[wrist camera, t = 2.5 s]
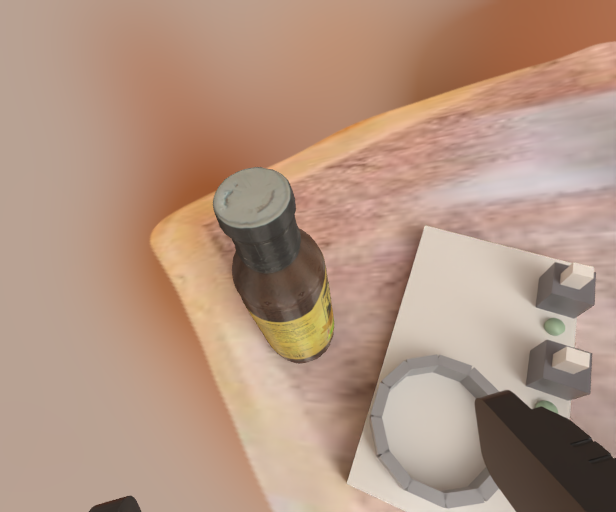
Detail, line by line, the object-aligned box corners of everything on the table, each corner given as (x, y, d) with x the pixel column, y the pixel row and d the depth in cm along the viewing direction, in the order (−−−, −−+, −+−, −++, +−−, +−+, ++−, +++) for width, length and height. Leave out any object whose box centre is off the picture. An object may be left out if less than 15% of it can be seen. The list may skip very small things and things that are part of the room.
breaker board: (421, 236, 39) (435, 191, 33) (569, 275, 35) (616, 233, 29) (346, 483, 29) (345, 487, 22) (543, 575, 25) (609, 612, 19)
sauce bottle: (347, 342, 34) (345, 214, 17) (288, 378, 33) (222, 281, 16) (312, 289, 37) (279, 134, 20) (257, 320, 36) (173, 186, 19)
